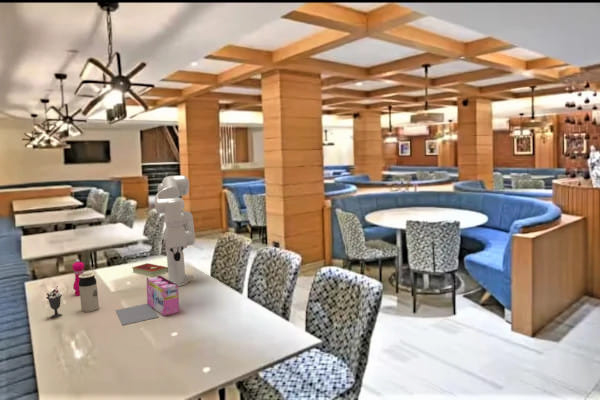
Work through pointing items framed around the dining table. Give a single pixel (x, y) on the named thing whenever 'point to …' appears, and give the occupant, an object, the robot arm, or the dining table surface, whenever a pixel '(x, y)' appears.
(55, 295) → the sundae
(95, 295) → the travel mug
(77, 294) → the pepper mill
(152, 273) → the hardcover book
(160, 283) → the gum box
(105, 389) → the dining table surface
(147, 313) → the rubber mat
